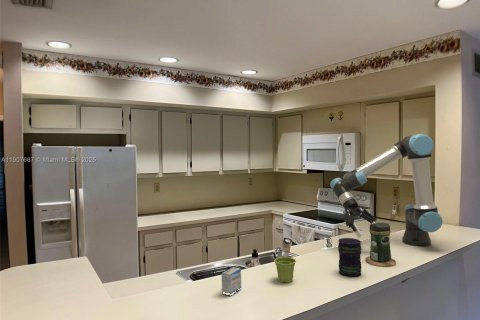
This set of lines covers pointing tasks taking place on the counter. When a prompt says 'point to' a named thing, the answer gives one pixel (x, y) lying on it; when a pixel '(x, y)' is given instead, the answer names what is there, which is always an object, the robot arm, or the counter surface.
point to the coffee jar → (380, 242)
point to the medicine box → (231, 280)
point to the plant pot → (285, 268)
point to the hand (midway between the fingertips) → (370, 234)
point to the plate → (380, 264)
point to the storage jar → (349, 257)
